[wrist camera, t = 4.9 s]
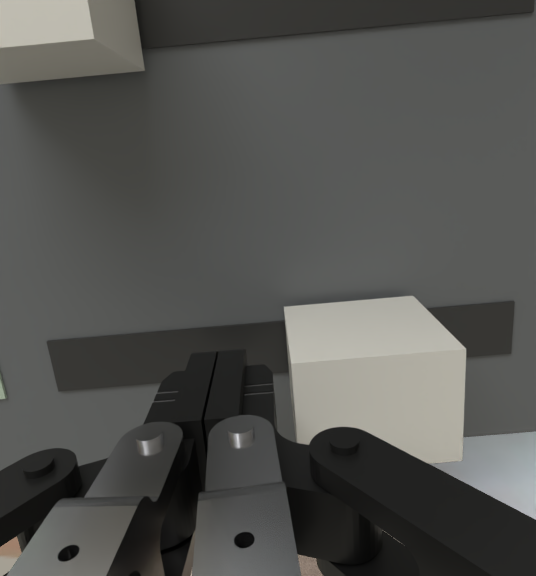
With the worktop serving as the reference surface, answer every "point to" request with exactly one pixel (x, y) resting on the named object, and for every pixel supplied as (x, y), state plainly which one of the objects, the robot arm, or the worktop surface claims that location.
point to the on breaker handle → (67, 39)
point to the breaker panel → (266, 204)
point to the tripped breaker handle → (378, 374)
